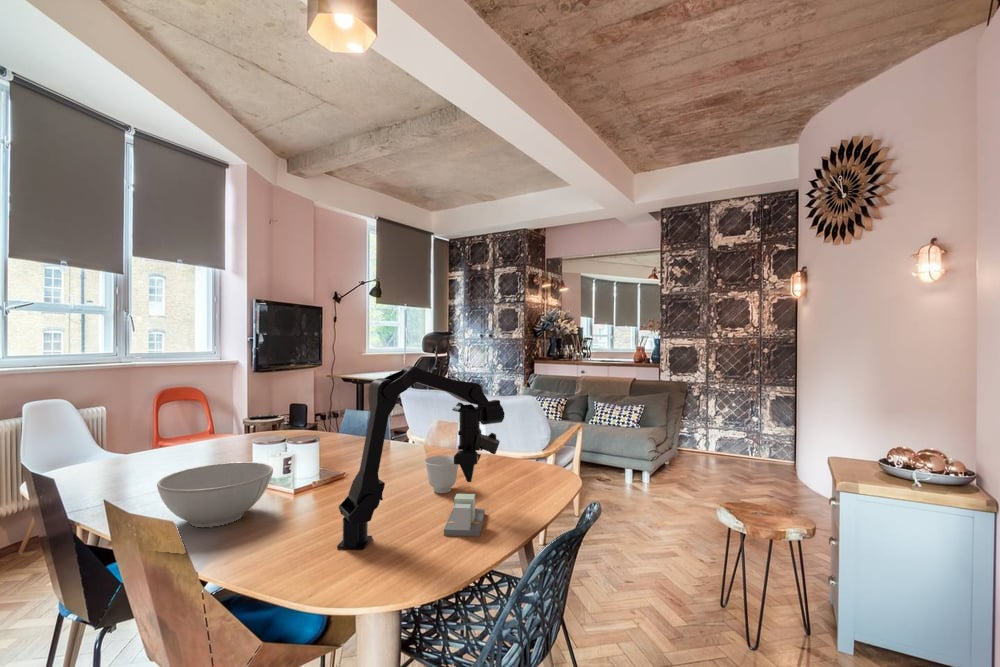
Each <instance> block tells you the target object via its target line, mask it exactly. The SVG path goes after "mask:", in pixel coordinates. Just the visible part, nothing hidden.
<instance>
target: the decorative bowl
mask: <svg viewBox="0 0 1000 667" xmlns="http://www.w3.org/2000/svg"><path fill="white" fill-rule="evenodd" d="M273 474H274V468H273V467H272V466H271V465H269V464H267V463H263V462H253V461H234V462H223V463H214V464H213V463H212V464H207V465H202V466H195V467H192V468H187V469H183V470H179V471H177V472H173V473H171V474H168V475H166V476H164V477H162V478H160V479H159V480H158V481H157V483H156V488H157V491H158V493H159V496H160V498H161V500H162V502H163V504H164V505H165V506H166V507H167V509H168V510H169V511H170V512H171V513H172V514H174V515H175V516H177V517H178V518H180V519H181V520H184V521H187V522H189V524H191V525H192V526H191V525H190V526H191V527H193V526H196V527H195V528H197V527H210V528H214V527H213V526H218V527H221V526H220V525H222V526H225V525H224V524H226V525H229V524H228V523H230V524H232V523H235V522H237V521H239V520H240V519H241V517H242V516H244V514H245V512H247V511H248V510H250V509H251V508H252V507H254V505H255V504H256V503H257V502H258V501H259V500H260V499H261V497H262V496H263V495H264V493H265V491H266V490H267V488H268V487H269V484H270V482H271V479H272V476H273ZM242 518H243V517H242ZM238 519H239V520H238ZM236 520H237V521H236ZM234 521H235V522H234ZM231 522H232V523H231Z"/></svg>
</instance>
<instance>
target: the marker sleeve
mask: <svg viewBox="0 0 1000 667" xmlns="http://www.w3.org/2000/svg"><path fill="white" fill-rule="evenodd" d="M453 499H454V500H453V504H454V505H453V507H454V506H455V504H471V523H473V522H474V518H475V508H476V493H456V494H455V496H454V498H453Z"/></svg>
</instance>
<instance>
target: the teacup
mask: <svg viewBox="0 0 1000 667" xmlns="http://www.w3.org/2000/svg"><path fill="white" fill-rule="evenodd" d="M454 456H455V455H453V454H449V455H435V456H430V457H427V458H426V459H424V461H423V462H424V464H425V465H426V466H425V467H426V473H427V480H428V484H429V485H430V486H431V487H432V488H433V492H434V493H437V494H446V493H449V492H451V491H452V488H451V487H453V486H454V485H455V484H456V482H457V477H458V470H459V466H460V464H454Z"/></svg>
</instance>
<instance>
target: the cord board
mask: <svg viewBox="0 0 1000 667" xmlns="http://www.w3.org/2000/svg"><path fill="white" fill-rule="evenodd" d="M485 509H486V508H476V507H475V518H474V522H473V523H471V504H455V506H454V505H453V508H452V510H451V513H450V514H449V517H448V518H447V521H446V525H445V527H444V529H443V536H444V537H445V536H447V537H448V536H449V537H476V538H477V537H480V535H481V531H482V527H483V523H484V518H485V514H486V510H485Z"/></svg>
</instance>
